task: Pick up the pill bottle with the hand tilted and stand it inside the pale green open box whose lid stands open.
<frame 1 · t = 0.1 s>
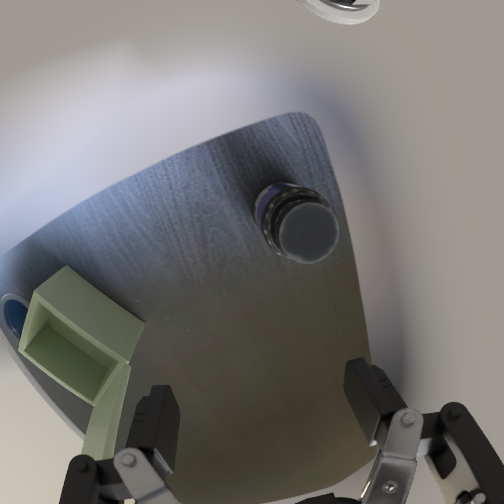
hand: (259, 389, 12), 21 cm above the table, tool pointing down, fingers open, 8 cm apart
pale green open box: (89, 323, 33), on the table
green box lid: (116, 444, 21), point 15 cm above the table, hinge at 95.0°
pill bottle: (281, 208, 31), on the table
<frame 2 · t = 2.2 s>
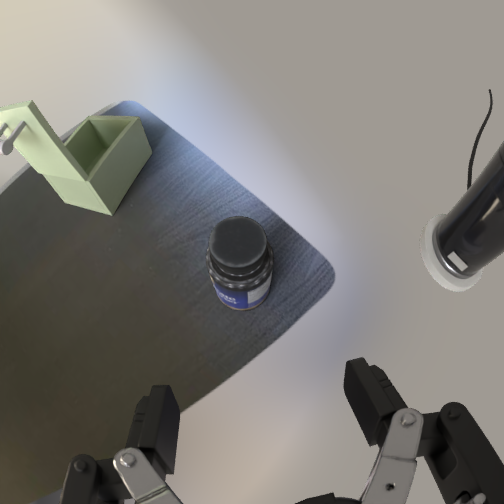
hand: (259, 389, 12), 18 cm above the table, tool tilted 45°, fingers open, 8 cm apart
pale green open box: (107, 177, 41), on the table
green box lid: (25, 157, 24), point 15 cm above the table, hinge at 95.0°
pill bottle: (243, 287, 33), on the table
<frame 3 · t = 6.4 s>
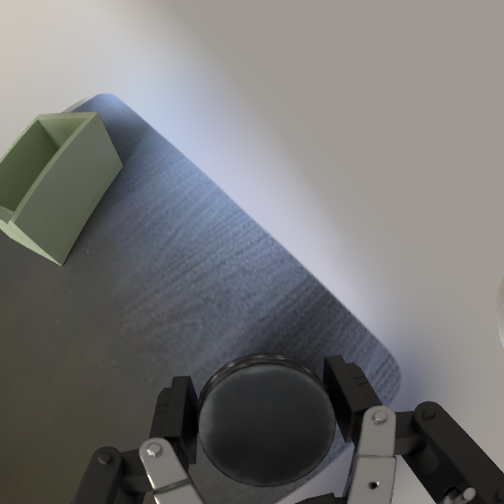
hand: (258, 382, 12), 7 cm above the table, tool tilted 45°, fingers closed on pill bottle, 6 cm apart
pale green open box: (61, 202, 26), on the table
pill bottle: (261, 405, 18), on the table, touching gripper
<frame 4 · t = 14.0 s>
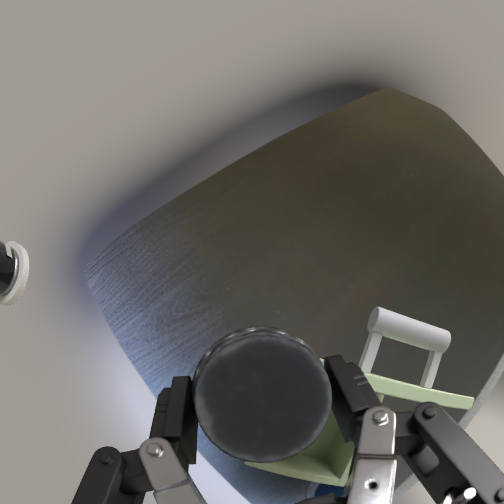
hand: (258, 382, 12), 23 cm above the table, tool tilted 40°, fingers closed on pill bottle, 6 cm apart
pale green open box: (306, 413, 31), on the table
green box lid: (377, 354, 19), point 15 cm above the table, hinge at 86.1°, touching pill bottle
pill bottle: (256, 382, 19), point 16 cm above the table, touching green box lid, gripper
when the fingers open (8 cm above the table, at t = 20.0 s): pill bottle stays where it is, resting on pale green open box.
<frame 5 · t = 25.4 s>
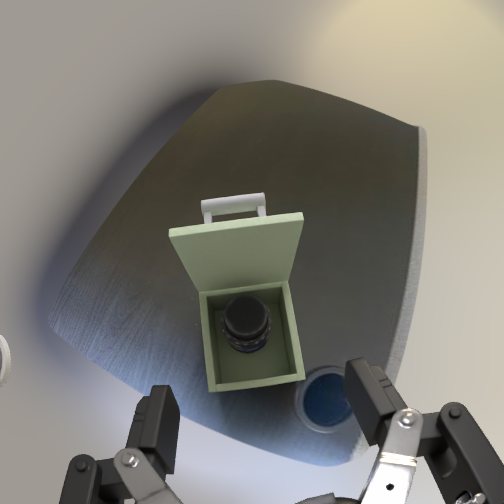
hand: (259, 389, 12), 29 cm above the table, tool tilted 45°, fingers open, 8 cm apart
pale green open box: (251, 344, 40), on the table
green box lid: (237, 242, 30), point 15 cm above the table, hinge at 90.4°
pill bottle: (247, 333, 40), point 1 cm above the table, touching pale green open box
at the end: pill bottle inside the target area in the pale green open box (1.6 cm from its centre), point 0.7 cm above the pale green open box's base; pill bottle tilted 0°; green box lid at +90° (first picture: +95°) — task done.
